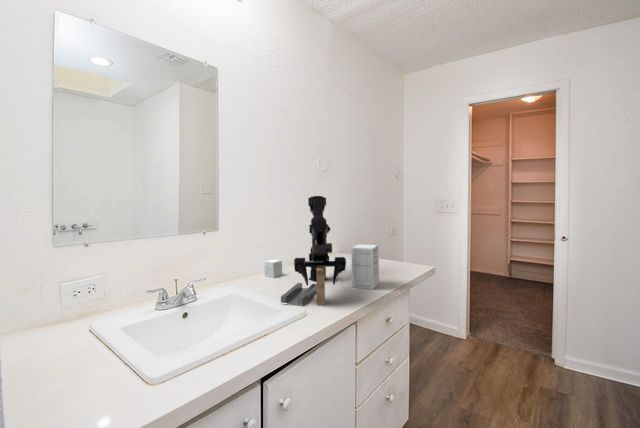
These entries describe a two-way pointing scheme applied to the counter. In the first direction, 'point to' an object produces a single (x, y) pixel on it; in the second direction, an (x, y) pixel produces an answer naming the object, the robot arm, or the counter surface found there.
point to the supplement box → (365, 266)
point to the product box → (273, 268)
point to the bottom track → (298, 294)
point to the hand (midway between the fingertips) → (320, 285)
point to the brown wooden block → (320, 286)
